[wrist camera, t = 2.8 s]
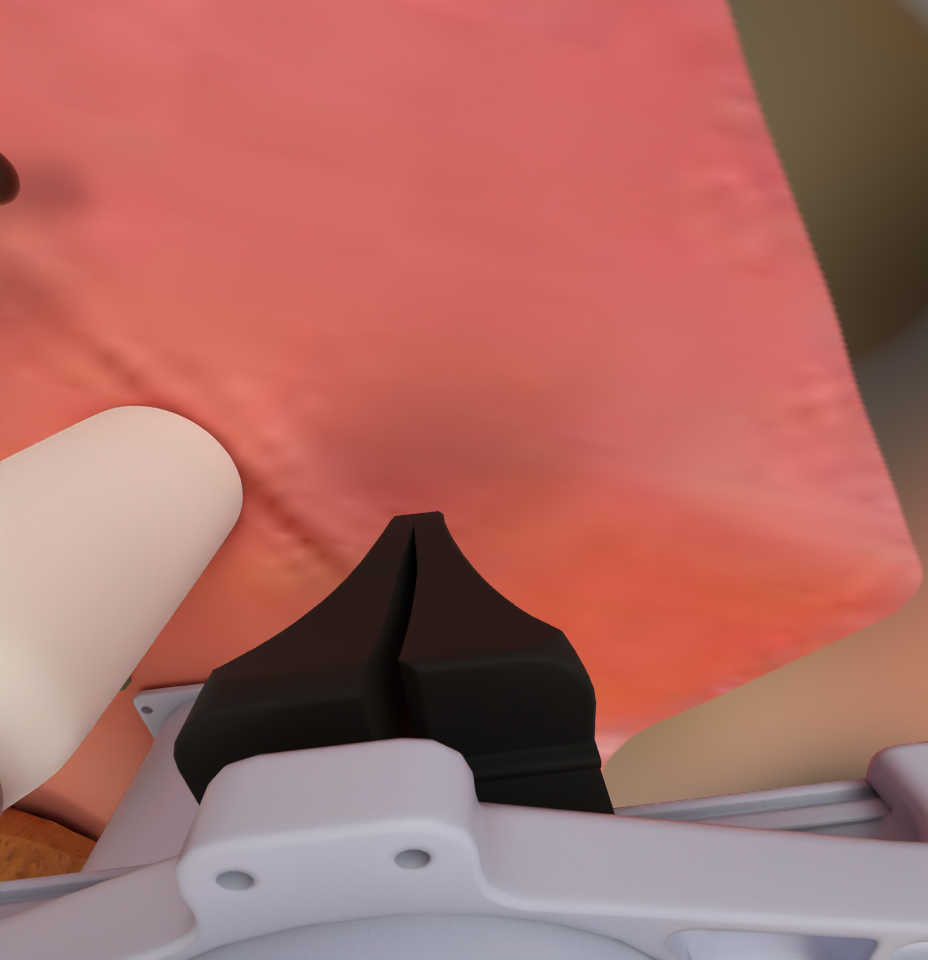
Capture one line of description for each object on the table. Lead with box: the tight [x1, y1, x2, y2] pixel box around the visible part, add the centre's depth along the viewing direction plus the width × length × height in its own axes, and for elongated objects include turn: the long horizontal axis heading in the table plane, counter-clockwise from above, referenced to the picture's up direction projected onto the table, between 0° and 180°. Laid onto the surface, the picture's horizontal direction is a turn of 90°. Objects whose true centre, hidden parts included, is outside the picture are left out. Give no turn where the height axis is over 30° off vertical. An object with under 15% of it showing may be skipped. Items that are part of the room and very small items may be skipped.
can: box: [0, 406, 243, 817], centre depth 14 cm, size 6×6×12 cm
